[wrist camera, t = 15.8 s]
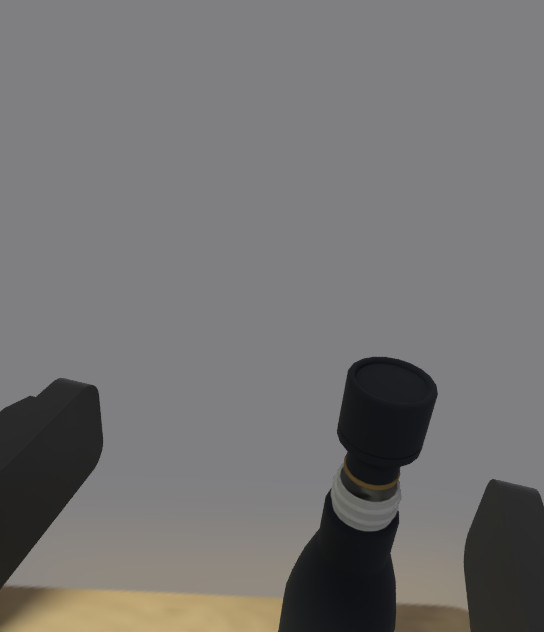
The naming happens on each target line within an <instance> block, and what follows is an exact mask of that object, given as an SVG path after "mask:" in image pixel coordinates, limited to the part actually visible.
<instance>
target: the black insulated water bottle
mask: <svg viewBox="0 0 544 632" xmlns="http://www.w3.org/2000/svg"><path fill="white" fill-rule="evenodd" d="M437 395H438V393H437V387H436V384H435V383H434V381H433V380H432V378H431V377H430V376H429V375H428V374H427V373H425V372H424V371H423V370H422V369H420V368H418V367H416V366H414V365H413V364H411V363H408V362H405V361H402V360H399V359H393V358H388V357H370V358H364V359H362V360H359V361H357V362H355V363H354V364H353V365H352V366H351V367H350V369H349V370H348V374H347V379H346V385H345V390H344V395H343V401H342V406H341V412H340V417H339V423H338V429H337V434H338V437H339V440H340V442H341V444H342V445H343V446H344V447H345V448H346V450H347V451H348V452H347V454H346V456H345V459H344V463H343V464H342V465H341V467H340V468H339V469H338V471H337V472H336V474H335V475H334V478H333V486H332V488H331V489H330V491H329V492H328V494H327V495H326V498H325V503H324V509H323V514H322V519H321V525H320V529H319V530H318V531H317V532H316V534H315V535H314V536H313V537H312V539H311V540H310V541H309V543H308V544H307V545H306V546H305V548H304V550H303V551H302V553H301V555H300V556H299V558H298V560H297V562H296V564H295V566H294V568H293V569H292V572H291V574H290V576H289V579H288V581H287V583H286V588H285V593H284V598H283V604H282V611H281V617H280V624H279V631H278V632H394V629H395V619H396V582H395V575H394V570H393V564H392V559H391V554H390V552H391V548H392V545H393V542H394V538H395V535H396V531H397V528H398V525H399V511H398V505H399V503H400V500H401V489H400V482H399V480H398V479H399V476H400V467H401V466H404V465H407V464H410V463H412V462H413V461H414V460H415V459H417V458H418V456H419V454H420V452H421V450H422V446H423V442H424V439H425V436H426V433H427V429H428V426H429V422H430V419H431V415H432V412H433V409H434V405H435V402H436V398H437Z"/></svg>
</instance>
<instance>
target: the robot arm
mask: <svg viewBox="0 0 544 632" xmlns="http://www.w3.org/2000/svg"><path fill="white" fill-rule="evenodd" d="M102 447H103V433H102V423H101V412H100V402H99V393H98V390H97V388H96V387H95V386H94V385H90V384H86V383H82V382H77V381H73V380H69V379H64V378H59V379H57V380H55V381H54V382H52V383H51V384H50V385H49V386H48V387H47V388H46V389H45V390H43V391H42V392H41V393H40V394H39V395H38V396H37V397H33V396H29V397H27V398H25V399H23V400H21V401H18V402H16V403H14V404H12V405H10V406H8V407H6V408H4V409H3V410H2V411H1V412H0V589H1V588H2V586H3V585H4V584H5V583H6V581H7V580H8V579H9V577H10V576H11V575H12V574H13V572H14V571H15V570H16V568H17V567H18V566H19V565H20V563H21V562H22V561H23V559H24V558H25V557H26V556H27V554H28V553H29V552H30V551H31V549H32V548H33V547H34V545H35V544H36V543H37V542H38V540H39V539H40V538H41V536H42V535H43V534H44V533H45V531H46V530H47V529H48V527H49V526H50V525H51V524H52V522H53V521H54V520H55V519H56V517H57V516H58V515H59V513H60V512H61V511H62V509H63V508H64V507H65V506H66V504H67V503H68V502H69V501H70V499H71V498H72V497H73V495H74V494H75V493H76V492H77V490H78V489H79V488H80V486H81V485H82V484H83V483H84V481H85V480H86V479H87V477H88V476H89V475H90V473H91V472H92V471H93V470H94V468H95V467H96V465H97V463H98V461H99V458H100V455H101V452H102ZM464 573H465V582H466V591H467V600H468V609H469V618H470V628H471V632H544V506H543V503H542V499H541V496H540V494H539V492H538V491H537V490H536V489H534V488H529V487H525V486H521V485H516V484H512V483H508V482H503V481H499V480H494V479H492V480H490V482H489V483H488V485H487V487H486V490H485V492H484V494H483V497H482V499H481V502H480V505H479V507H478V510H477V512H476V515H475V517H474V520H473V522H472V525H471V528H470V530H469V532H468V535H467V539H466V544H465V551H464Z"/></svg>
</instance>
